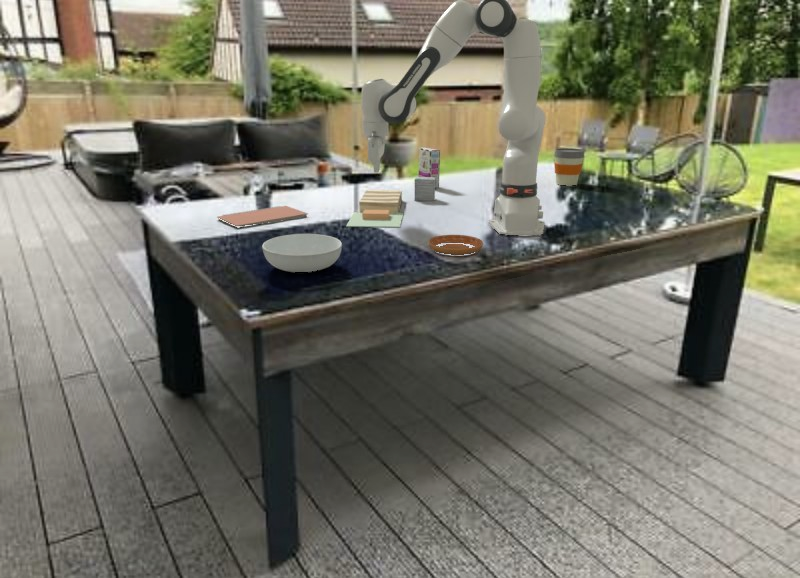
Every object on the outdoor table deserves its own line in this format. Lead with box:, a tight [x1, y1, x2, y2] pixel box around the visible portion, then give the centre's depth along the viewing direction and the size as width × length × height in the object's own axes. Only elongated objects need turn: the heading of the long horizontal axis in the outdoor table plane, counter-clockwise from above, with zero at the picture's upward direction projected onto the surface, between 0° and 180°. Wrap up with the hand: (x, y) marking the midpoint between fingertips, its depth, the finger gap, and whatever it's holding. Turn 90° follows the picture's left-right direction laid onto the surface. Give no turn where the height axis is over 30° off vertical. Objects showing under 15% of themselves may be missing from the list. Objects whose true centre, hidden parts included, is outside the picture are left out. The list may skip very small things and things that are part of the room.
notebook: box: [216, 205, 309, 226], centre depth 222 cm, size 27×17×2 cm, turn 129°
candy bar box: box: [418, 147, 441, 189], centre depth 272 cm, size 11×5×16 cm, turn 25°
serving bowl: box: [261, 233, 343, 273], centre depth 168 cm, size 21×21×7 cm
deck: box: [358, 189, 403, 213], centre depth 238 cm, size 22×14×4 cm, turn 176°
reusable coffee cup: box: [553, 147, 585, 187], centre depth 277 cm, size 13×13×15 cm
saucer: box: [428, 234, 484, 255], centre depth 184 cm, size 16×16×3 cm
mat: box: [345, 211, 404, 228], centre depth 219 cm, size 20×18×1 cm
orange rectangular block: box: [362, 210, 390, 220], centre depth 221 cm, size 6×9×2 cm, turn 86°
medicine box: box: [414, 176, 436, 202], centre depth 248 cm, size 8×4×9 cm, turn 84°
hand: (376, 171), depth 216 cm, fingers closed
